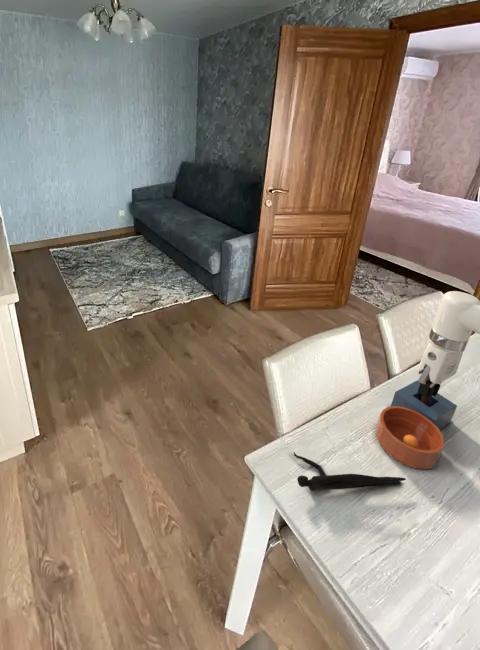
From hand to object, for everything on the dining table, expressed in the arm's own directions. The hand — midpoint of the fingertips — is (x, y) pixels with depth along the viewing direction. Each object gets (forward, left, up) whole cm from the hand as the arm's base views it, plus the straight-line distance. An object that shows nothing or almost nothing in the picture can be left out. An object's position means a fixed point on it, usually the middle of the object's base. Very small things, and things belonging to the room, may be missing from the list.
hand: (426, 393), depth 94 cm
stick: (0, 0, -7) cm, 7 cm away
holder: (0, 0, -8) cm, 8 cm away
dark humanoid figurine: (-2, +34, -8) cm, 35 cm away
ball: (-5, +13, -6) cm, 15 cm away
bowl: (-4, +13, -8) cm, 16 cm away
